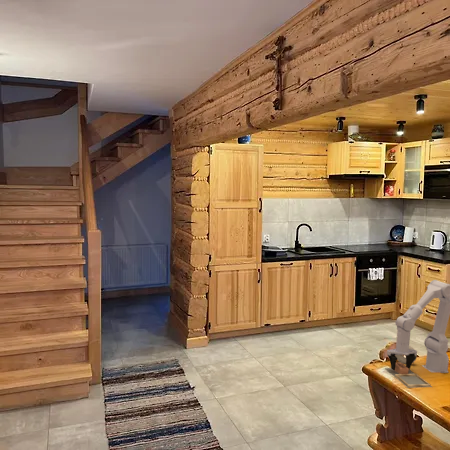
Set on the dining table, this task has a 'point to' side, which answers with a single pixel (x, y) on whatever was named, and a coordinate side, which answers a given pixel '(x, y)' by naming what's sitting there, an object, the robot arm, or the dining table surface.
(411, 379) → the mat
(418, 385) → the frame
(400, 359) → the donut
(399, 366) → the reddish brown block
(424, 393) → the dining table surface
